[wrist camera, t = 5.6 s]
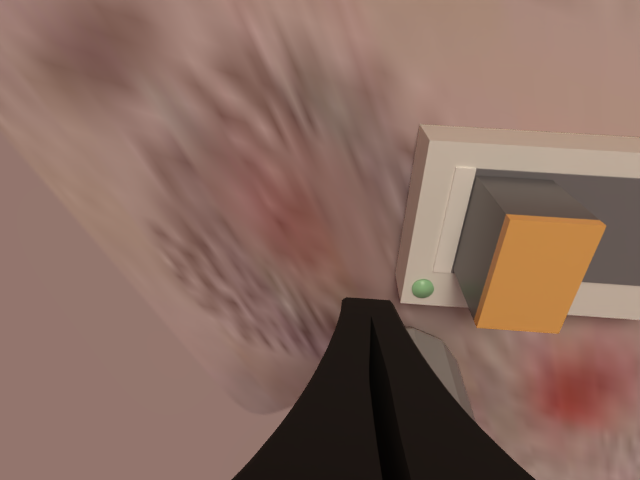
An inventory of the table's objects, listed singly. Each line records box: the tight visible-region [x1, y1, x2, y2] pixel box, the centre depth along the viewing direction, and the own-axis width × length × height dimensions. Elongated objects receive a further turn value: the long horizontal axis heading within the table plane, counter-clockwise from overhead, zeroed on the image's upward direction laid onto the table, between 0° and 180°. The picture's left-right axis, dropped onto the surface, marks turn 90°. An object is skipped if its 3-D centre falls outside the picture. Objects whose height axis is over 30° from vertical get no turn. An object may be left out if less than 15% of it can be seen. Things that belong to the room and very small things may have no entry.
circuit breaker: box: [395, 124, 640, 320], centre depth 19 cm, size 13×8×3 cm, turn 87°
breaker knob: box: [453, 175, 606, 334], centre depth 16 cm, size 3×4×4 cm, turn 177°
